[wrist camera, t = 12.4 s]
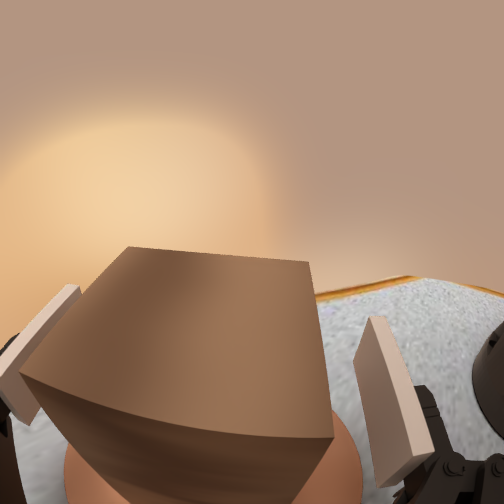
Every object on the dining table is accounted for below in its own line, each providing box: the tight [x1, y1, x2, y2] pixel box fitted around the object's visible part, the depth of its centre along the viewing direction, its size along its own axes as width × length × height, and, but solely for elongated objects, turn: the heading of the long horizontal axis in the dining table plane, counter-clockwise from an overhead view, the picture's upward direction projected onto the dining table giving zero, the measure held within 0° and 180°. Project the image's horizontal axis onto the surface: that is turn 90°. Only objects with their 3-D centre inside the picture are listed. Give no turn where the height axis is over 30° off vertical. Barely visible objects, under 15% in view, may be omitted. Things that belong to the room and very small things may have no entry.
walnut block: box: [18, 247, 335, 504], centre depth 10 cm, size 7×7×11 cm
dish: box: [64, 410, 363, 504], centre depth 13 cm, size 17×17×1 cm
